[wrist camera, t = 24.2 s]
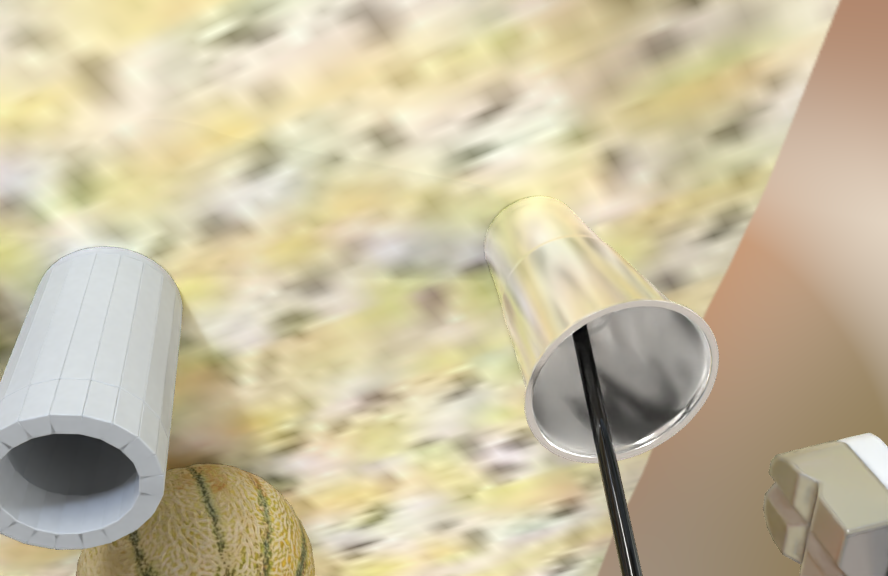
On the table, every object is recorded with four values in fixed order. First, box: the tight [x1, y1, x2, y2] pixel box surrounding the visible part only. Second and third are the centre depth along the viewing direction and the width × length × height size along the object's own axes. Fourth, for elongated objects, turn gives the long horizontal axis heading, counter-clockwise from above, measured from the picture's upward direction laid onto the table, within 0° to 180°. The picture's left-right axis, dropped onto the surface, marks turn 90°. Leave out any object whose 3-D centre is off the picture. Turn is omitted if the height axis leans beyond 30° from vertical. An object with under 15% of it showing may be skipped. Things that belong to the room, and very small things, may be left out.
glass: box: [484, 196, 719, 576], centre depth 41 cm, size 11×11×30 cm
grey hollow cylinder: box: [0, 247, 183, 550], centre depth 43 cm, size 8×8×15 cm
